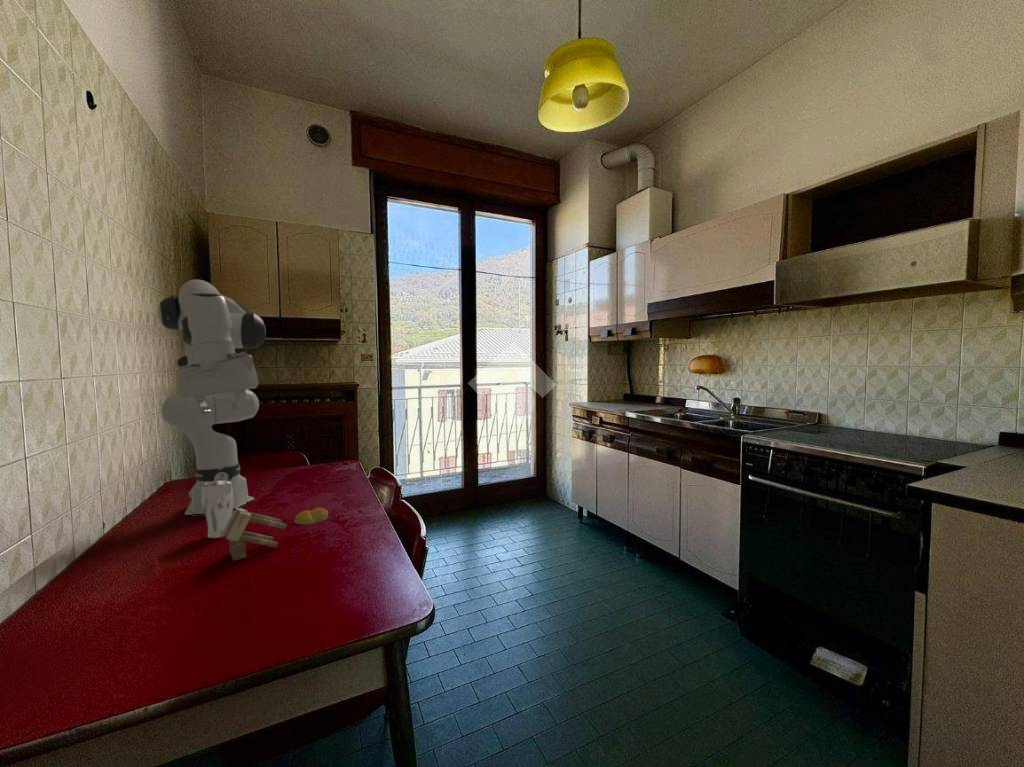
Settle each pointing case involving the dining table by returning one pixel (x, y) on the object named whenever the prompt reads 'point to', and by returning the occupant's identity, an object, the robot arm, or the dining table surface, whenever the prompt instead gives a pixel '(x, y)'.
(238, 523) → the stool
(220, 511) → the beer glass
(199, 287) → the robot arm
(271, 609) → the dining table surface
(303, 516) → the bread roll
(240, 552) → the prop block
